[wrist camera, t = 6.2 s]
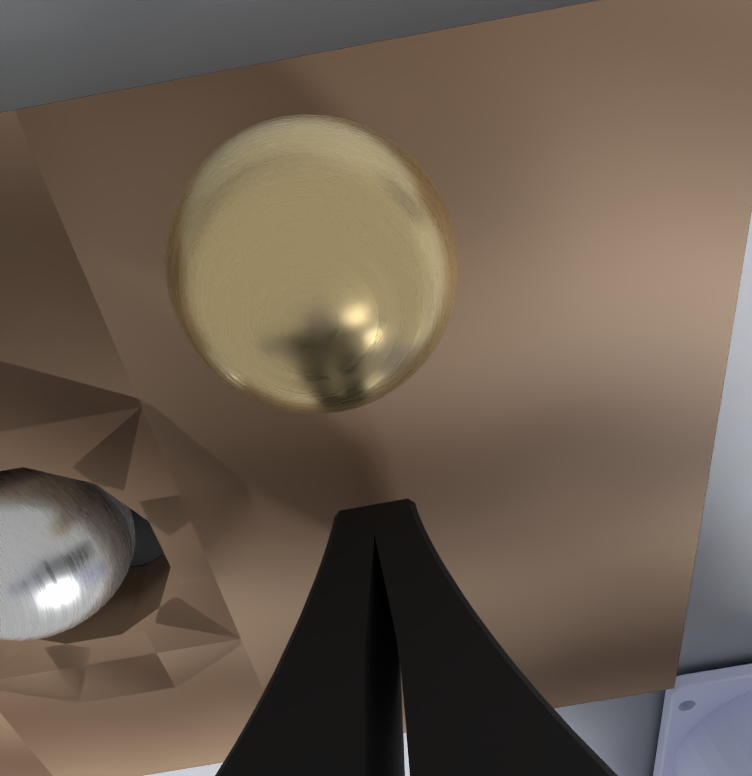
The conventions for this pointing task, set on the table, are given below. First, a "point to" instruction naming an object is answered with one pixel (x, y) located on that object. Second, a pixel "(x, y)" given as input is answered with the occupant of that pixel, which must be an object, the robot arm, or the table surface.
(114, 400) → the hole plate
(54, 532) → the steel ball
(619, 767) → the table surface
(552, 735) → the robot arm
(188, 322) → the brass ball
